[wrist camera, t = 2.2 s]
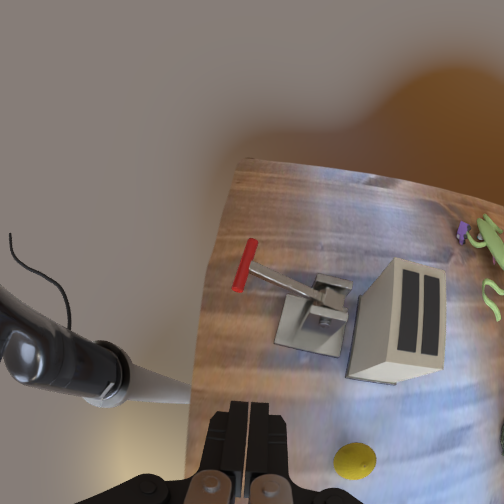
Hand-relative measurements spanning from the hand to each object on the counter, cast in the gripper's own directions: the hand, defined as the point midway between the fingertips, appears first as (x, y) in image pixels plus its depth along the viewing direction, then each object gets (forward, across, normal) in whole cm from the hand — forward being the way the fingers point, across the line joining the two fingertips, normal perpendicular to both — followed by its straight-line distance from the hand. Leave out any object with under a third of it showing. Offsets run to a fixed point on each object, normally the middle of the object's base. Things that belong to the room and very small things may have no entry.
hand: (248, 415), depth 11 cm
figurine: (+38, -50, +4) cm, 63 cm away
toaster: (+28, -19, +14) cm, 37 cm away
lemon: (+15, -14, +27) cm, 34 cm away
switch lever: (+22, -3, +3) cm, 23 cm away
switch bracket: (+30, -8, +12) cm, 33 cm away
